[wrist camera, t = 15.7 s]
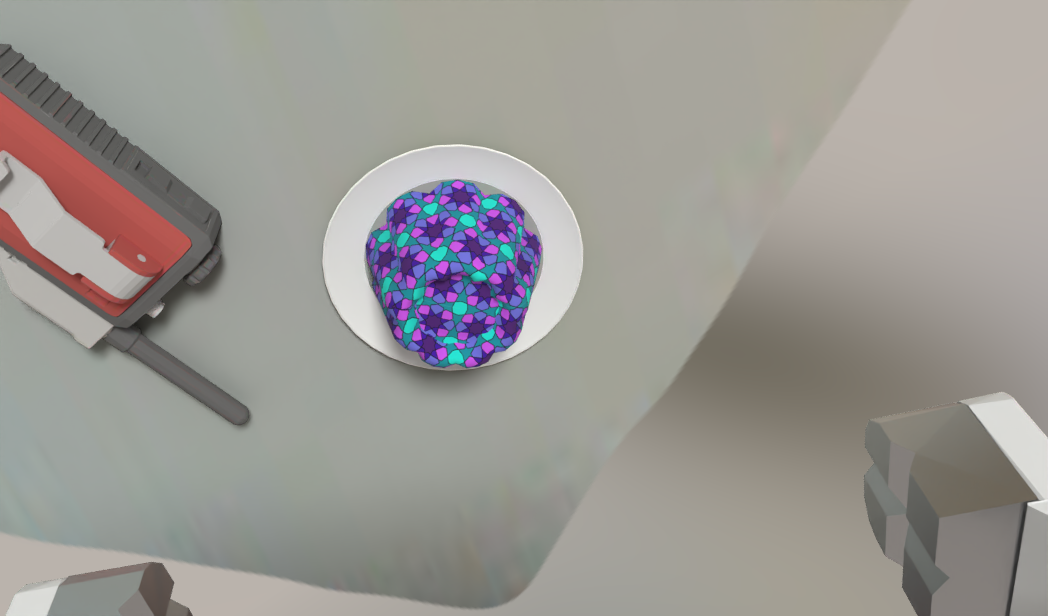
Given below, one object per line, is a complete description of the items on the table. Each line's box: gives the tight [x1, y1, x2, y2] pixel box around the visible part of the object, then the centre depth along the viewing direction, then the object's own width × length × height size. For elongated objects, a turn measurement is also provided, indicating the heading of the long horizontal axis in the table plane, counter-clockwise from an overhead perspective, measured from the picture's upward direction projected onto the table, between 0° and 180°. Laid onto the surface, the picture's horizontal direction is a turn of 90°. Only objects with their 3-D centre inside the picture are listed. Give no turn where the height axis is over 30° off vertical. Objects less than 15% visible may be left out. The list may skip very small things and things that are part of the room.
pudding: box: [322, 144, 583, 371], centre depth 43 cm, size 12×12×5 cm
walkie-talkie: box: [0, 44, 249, 425], centre depth 41 cm, size 9×4×20 cm
